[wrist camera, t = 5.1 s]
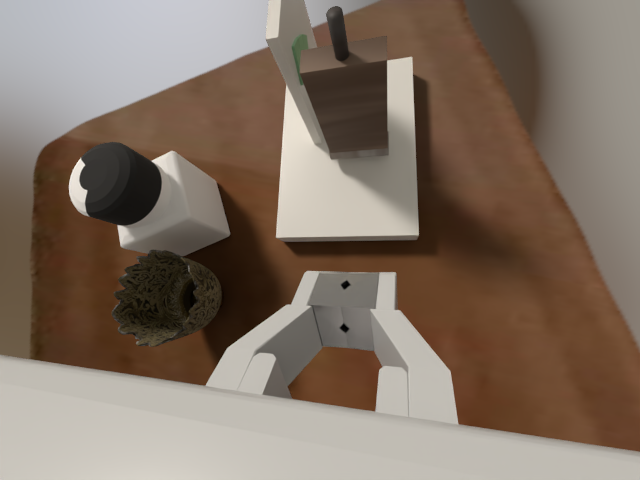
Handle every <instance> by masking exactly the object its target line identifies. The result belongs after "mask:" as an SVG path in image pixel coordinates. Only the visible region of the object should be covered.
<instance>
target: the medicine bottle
mask: <svg viewBox="0 0 640 480" xmlns="http://www.w3.org/2000/svg"><path fill="white" fill-rule="evenodd" d="M69 194H70V198H71V200H72V202H73V204H74V206H75V207H76V209H77V210H78V211H79V212H80V213H82V214H84V215H86V216H89V217H93V218H96V219H99V220H103V221H106V222H110V223H113V224H117V225H118V232H119V238H120V245H121V247H122V248H124V249H129V250H134V251H139V252H143V253H148V254H149V251H150V250H160V251H164V250H167V251H170V252H173V253H175V254H177V255H180V256H185V255H187V254H190V253H192V252H194V251H197V250H199V249H201V248H204V247H206V246H208V245H211V244H213V243H215V242H217V241H220V240H222V239H224V238H227V237H229V236H230V230H229V226H228V223H227V219H226V215H225V212H224V208H223V204H222V201H221V197H220V193H219V190H218V186H217V182H216V181H215V180H214V179H213V178H211V177H210V176H208V175H207V174H205V173H204V172H203V171H201V170H200V169H198V168H197V167H196V166H194V165H193V164H191V163H190V162H189V161H187V160H186V159H184V158H183V157H182V156H180V155H179V154H177V153H176V152H174V151H171V152H169V153H167V154H165V155H163V156H161V157H158V158H156V159H154V160H152V161H150V160H149V159H147V158H145V157H144V156H142V155H140V154H139V153H137V152H135V151H134V150H132V149H130V148H129V147H127V146H125V145H123V144H121V143H117V142H110V143H104V144H100V145H97V146H95V147H93V148H92V149H90V150H89V151H87V152H86V153H85V154H84V155H83V156H82V157H81V158H80V160H79V161H78V162H77V164H76V166H75V167H74V169H73V172H72V174H71V178H70V182H69Z"/></svg>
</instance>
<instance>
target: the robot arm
mask: <svg viewBox="0 0 640 480" xmlns="http://www.w3.org/2000/svg"><path fill="white" fill-rule="evenodd" d="M322 346H329V347H345V348H354V349H363V350H371V351H375V353H376V355H377V357H378V359H379V361H380V363H381V365H382V368H381V369H380V370H379V379H378V390H377V402H376V412H373V411H367V410H360V409H354V408H347V407H340V406H334V405H327V404H321V403H314V402H307V401H301V400H294V399H292V397H291V395H290V392H289V390H288V387H287V386H288V385H289V384H290V383H291V382H292V381H293V380H294V379H295V378H296V376H297V375H298V374H299V373H300V372H301V371H302V370H303V369H304V368H305V366H306V365H307V364H308V363H309V362H310V361H311V360H312V359H313V358H314V356H315V355H316V354H317V353H318V352H319V351H320V350H321V349H322ZM0 480H640V452H638V451H631V450H624V449H618V448H611V447H605V446H598V445H591V444H585V443H578V442H571V441H565V440H558V439H552V438H545V437H538V436H532V435H525V434H519V433H512V432H505V431H499V430H492V429H486V428H479V427H472V426H466V425H459V424H458V419H457V413H456V406H455V399H454V392H453V385H452V379H451V372H450V370H449V369H448V368H447V367H446V366H445V364H444V363H443V362H442V361H441V359H440V358H439V357H438V356H437V355H436V353H435V352H434V351H433V350H432V348H431V347H430V346H429V345H428V344H427V342H426V341H425V340H424V339H423V338H422V336H421V335H420V334H419V333H418V331H417V330H416V329H415V328H414V327H413V325H412V324H411V323H410V322H409V320H408V319H407V318H406V317H405V316H404V314H403V313H402V312H401V311H400V310H398V305H397V276H396V272H380V273H358V272H328V271H321V272H320V271H307V272H305V273H304V275H303V278H302V280H301V282H300V285H299V287H298V289H297V292H296V294H295V296H294V299H293V301H292V303H291V305H285V306H284V307H283V308H281V309H280V310H279V311H277V312H276V313H274V314H273V315H272V316H270V317H269V318H268V319H266V320H265V321H263V322H262V323H261V324H259V325H258V326H257V327H255V328H254V329H253V330H251V331H250V332H248V333H247V334H246V335H244V336H243V337H242V338H240V339H239V340H237V341H236V342H235V343H233V344H232V345H231V346H229V347H228V348H227V349H226V351H225V353H224V355H223V356H222V358H221V360H220V361H219V363H218V365H217V367H216V368H215V370H214V372H213V374H212V375H211V377H210V379H209V381H208V382H207V384H206V386H202V385H196V384H189V383H183V382H176V381H169V380H163V379H156V378H150V377H143V376H136V375H130V374H123V373H116V372H110V371H103V370H97V369H90V368H83V367H77V366H70V365H64V364H57V363H50V362H44V361H37V360H31V359H24V358H18V357H11V356H4V355H0Z"/></svg>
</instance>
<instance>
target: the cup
mask: <svg viewBox="0 0 640 480" xmlns="http://www.w3.org/2000/svg"><path fill="white" fill-rule="evenodd" d="M136 258H137V260H138V261H139V262H140V263H141V264H135V265H134V266H130V267H127V268H125V272H127V274H125V275H123V276H122V277H120V278H119V279H118V280H119V282H120V284H121V285H122V286H123V287H125V288H126V289H124V290H122V291H116V292H114V296H115V297H116V298H117V299H119V300H120V302H119V304H118V305H117V306H116V307H115V308H114V309H113V311H112V316H113V317H114V319H115V320H116V321H117V322H119V323H120V324H121V326H120V327H119V328H118V332H119V333H121V334H133V335H135V338H136V339H140V341H138V342H137V343H136V344H137V345H138V346H146V345H149V346H151V347H154V346H158V345H160V344H163V343H166V342H169V341H172V340H175V339H178V338H181V337H184V336H187V335H189V334H192V333H194V332H196V331H198V330H200V329H202V328H203V327H205V326H206V325H207V324H209V323H210V322H211V321H212V319H213V318H214V317H215V316H216V314H217V312H218V310H219V309H220V307H221V306H222V304H223V300H224V294H223V290H222V288H221V286H220V283H219V281H218V279H217V277H216V276H215V275H214V273H213V272H212V271H210V270H209V269H208V268H206V267H205V266H203V265H201V264H199V263H197V262H195V261H193V260H190V259H188V258H185V257H183V256H180V255H177V254H175V253H173V252H170V251H167V250H164V251H160V250H150V251H149V254H148V257H147V256H138V257H136Z"/></svg>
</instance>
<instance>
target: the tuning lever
mask: <svg viewBox="0 0 640 480" xmlns="http://www.w3.org/2000/svg"><path fill="white" fill-rule="evenodd" d="M326 16H327V21H328V26H329V30H330V35H331V39H332V44H333V45H330V46H324V47H318V48H312V49H306V50H301V57H300V76H301V78H302V81H303V84H304V86H305V89H306V91H307V94H308V97H309V99H310V102H311V104H312V107H313V110H314V112H315V115H316V117H317V120H318V122H319V125H320V128H321V130H322V133H323V135H324V138H325V141H326V143H327V146H328V148H329V155H330V159H331V160H334V159H346V158H359V157H371V156H384V155H389V131H388V129H387V36H382V37H376V38H371V39H365V40H359V41H353V42H347V37H346V31H345V24H344V18H343V12H342V9H341V8H340V7H338V6H335V7H332V8H330V9H329V10H328V12H327V14H326Z"/></svg>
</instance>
